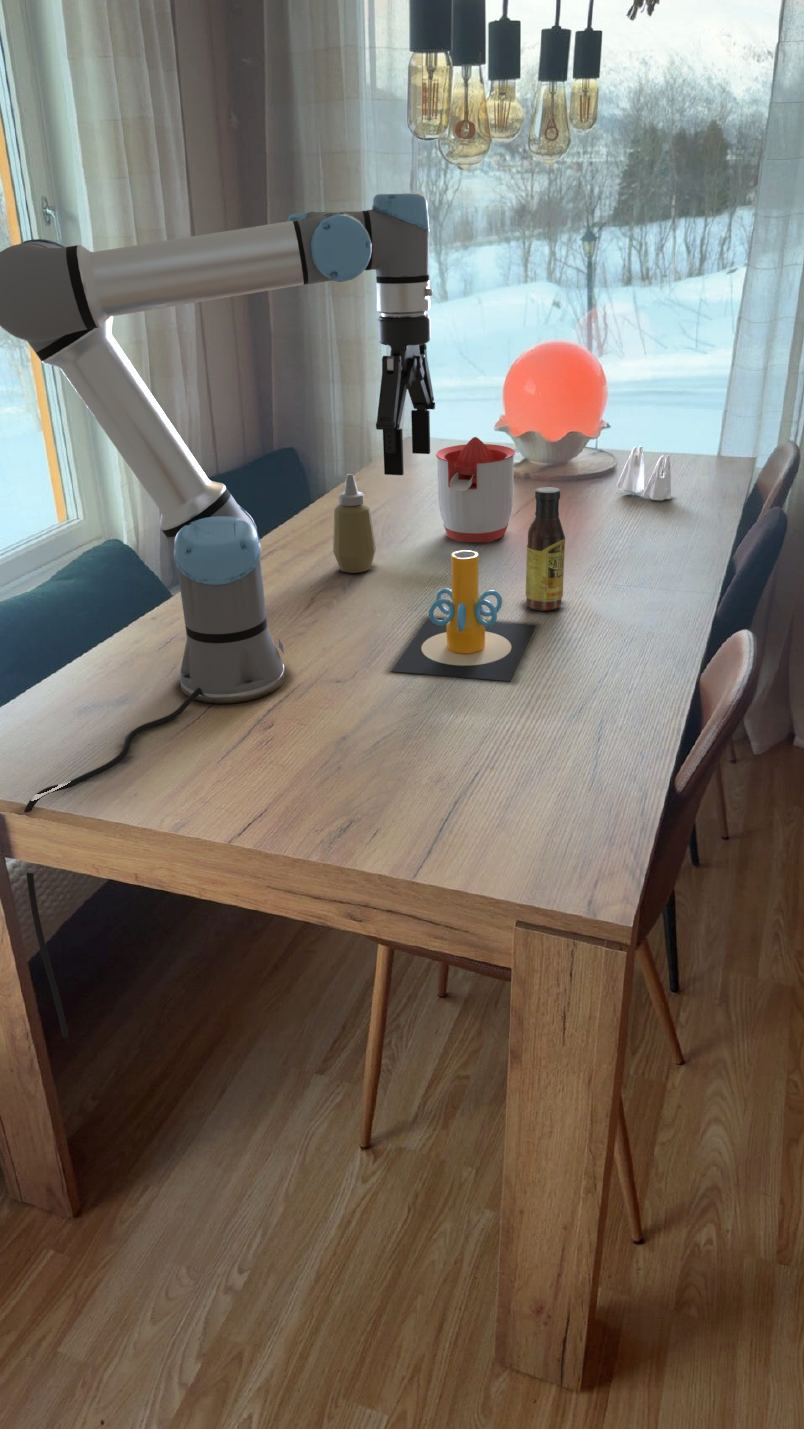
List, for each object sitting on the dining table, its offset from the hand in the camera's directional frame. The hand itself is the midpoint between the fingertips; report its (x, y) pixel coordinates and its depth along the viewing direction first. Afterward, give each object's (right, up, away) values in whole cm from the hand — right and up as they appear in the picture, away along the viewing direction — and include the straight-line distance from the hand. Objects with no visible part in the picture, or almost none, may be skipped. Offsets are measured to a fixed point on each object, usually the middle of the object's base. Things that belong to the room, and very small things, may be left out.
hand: (408, 463), depth 159 cm
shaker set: (+53, +11, +78) cm, 95 cm away
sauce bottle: (+23, -20, +20) cm, 36 cm away
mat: (+9, -27, +5) cm, 29 cm away
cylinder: (+9, -28, +5) cm, 29 cm away
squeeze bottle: (-10, -10, +41) cm, 43 cm away
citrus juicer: (+14, -2, +56) cm, 57 cm away
